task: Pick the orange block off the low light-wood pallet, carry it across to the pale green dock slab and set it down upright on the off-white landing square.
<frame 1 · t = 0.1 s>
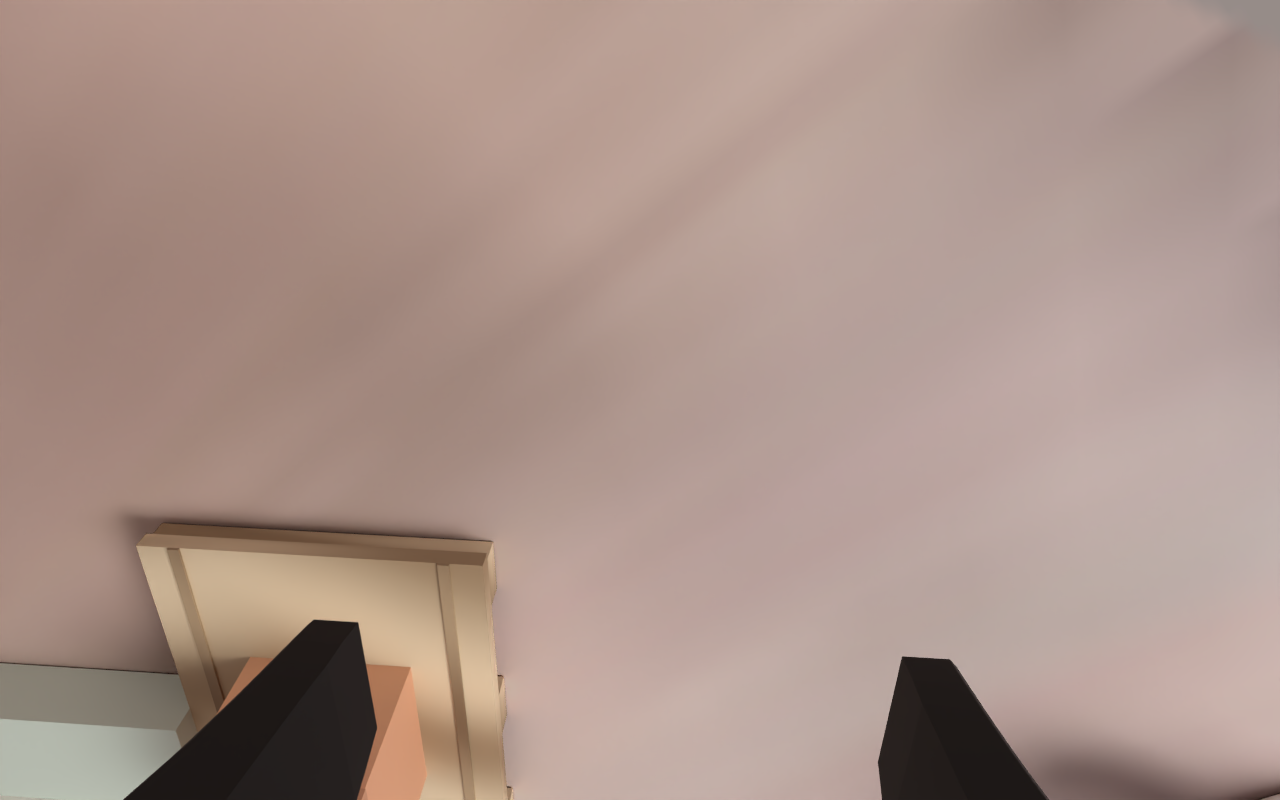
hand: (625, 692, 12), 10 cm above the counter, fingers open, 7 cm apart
pallet: (356, 686, 27), on the counter
orange block: (342, 718, 26), point 1 cm above the counter, touching pallet
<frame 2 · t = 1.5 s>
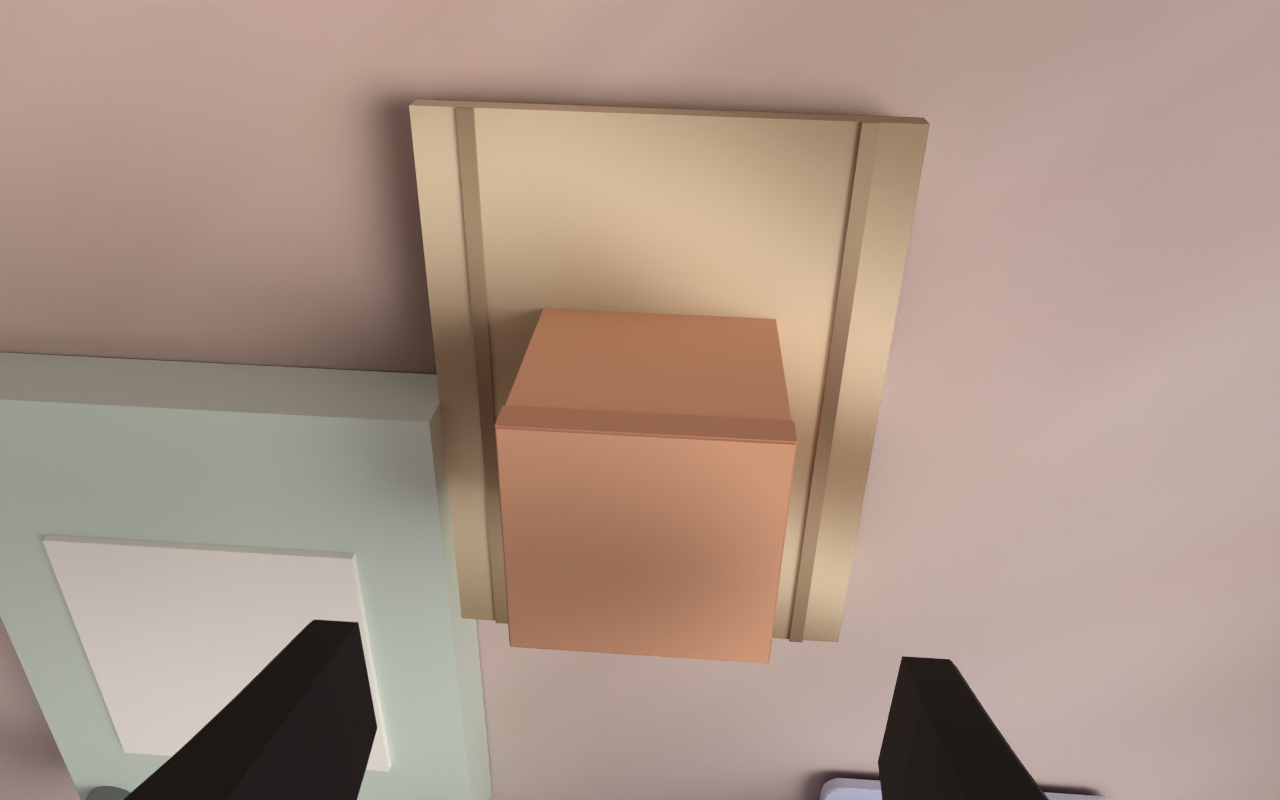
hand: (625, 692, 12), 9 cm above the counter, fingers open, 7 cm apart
dock: (267, 601, 24), on the counter
pallet: (658, 385, 20), on the counter
orange block: (655, 413, 19), point 1 cm above the counter, touching pallet
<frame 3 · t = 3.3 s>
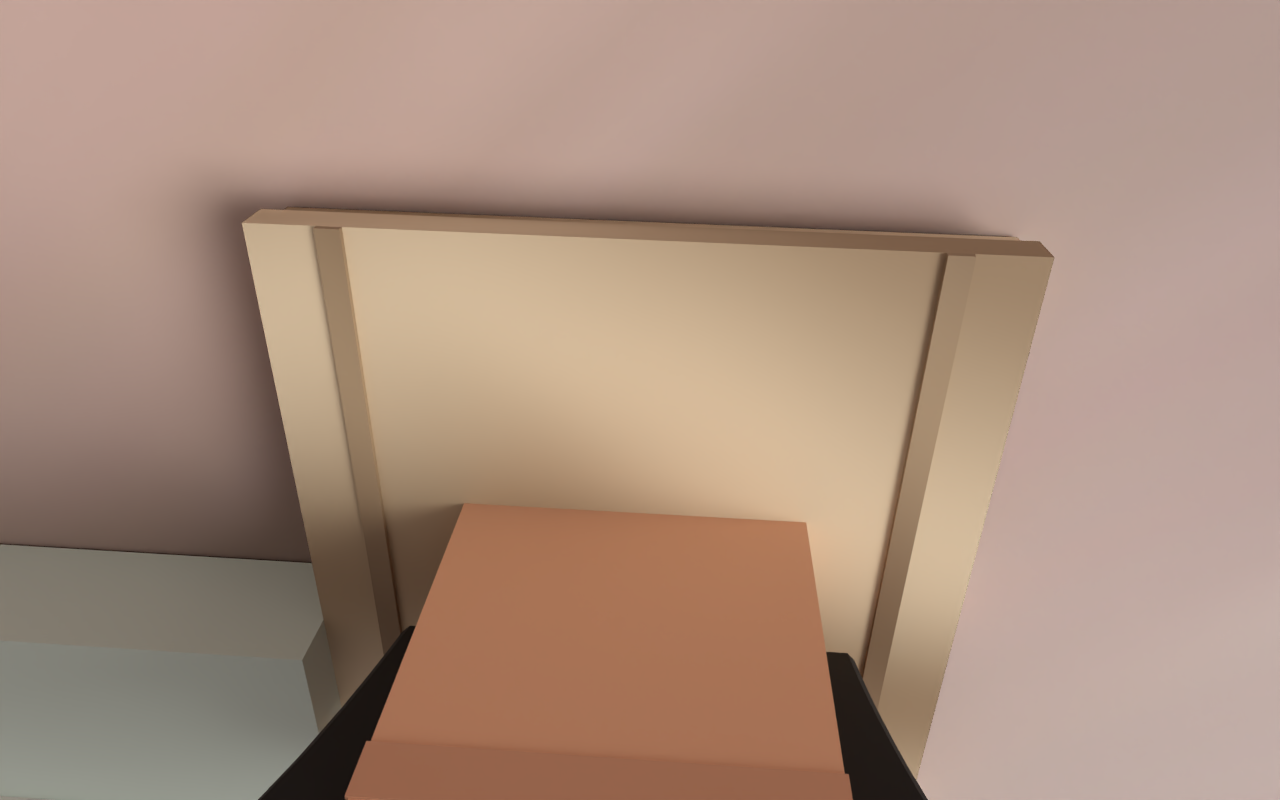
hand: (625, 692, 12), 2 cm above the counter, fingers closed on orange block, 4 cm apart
pallet: (636, 582, 14), on the counter
orange block: (630, 638, 13), point 1 cm above the counter, touching gripper, pallet
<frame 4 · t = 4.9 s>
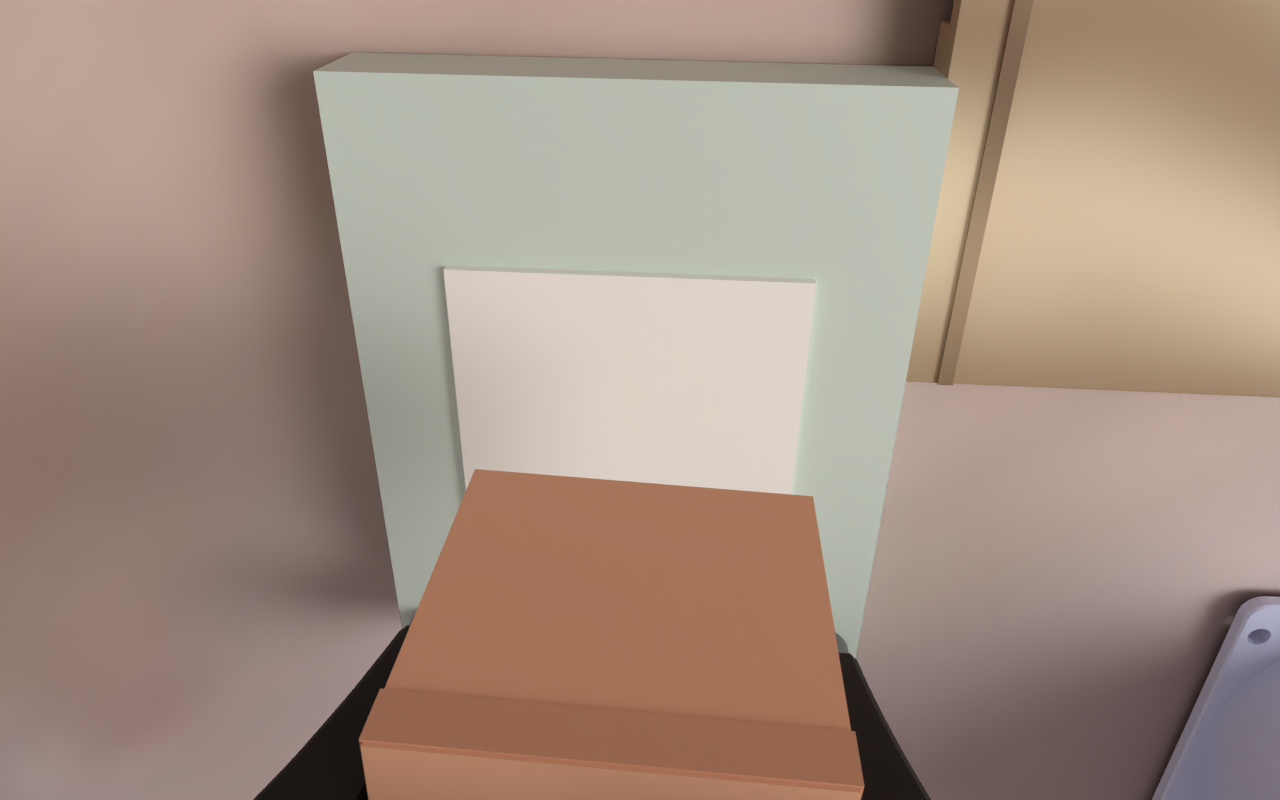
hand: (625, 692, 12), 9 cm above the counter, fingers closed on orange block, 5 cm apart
dock: (634, 383, 21), on the counter
pallet: (1182, 72, 17), on the counter
orange block: (635, 610, 13), point 8 cm above the counter, touching gripper
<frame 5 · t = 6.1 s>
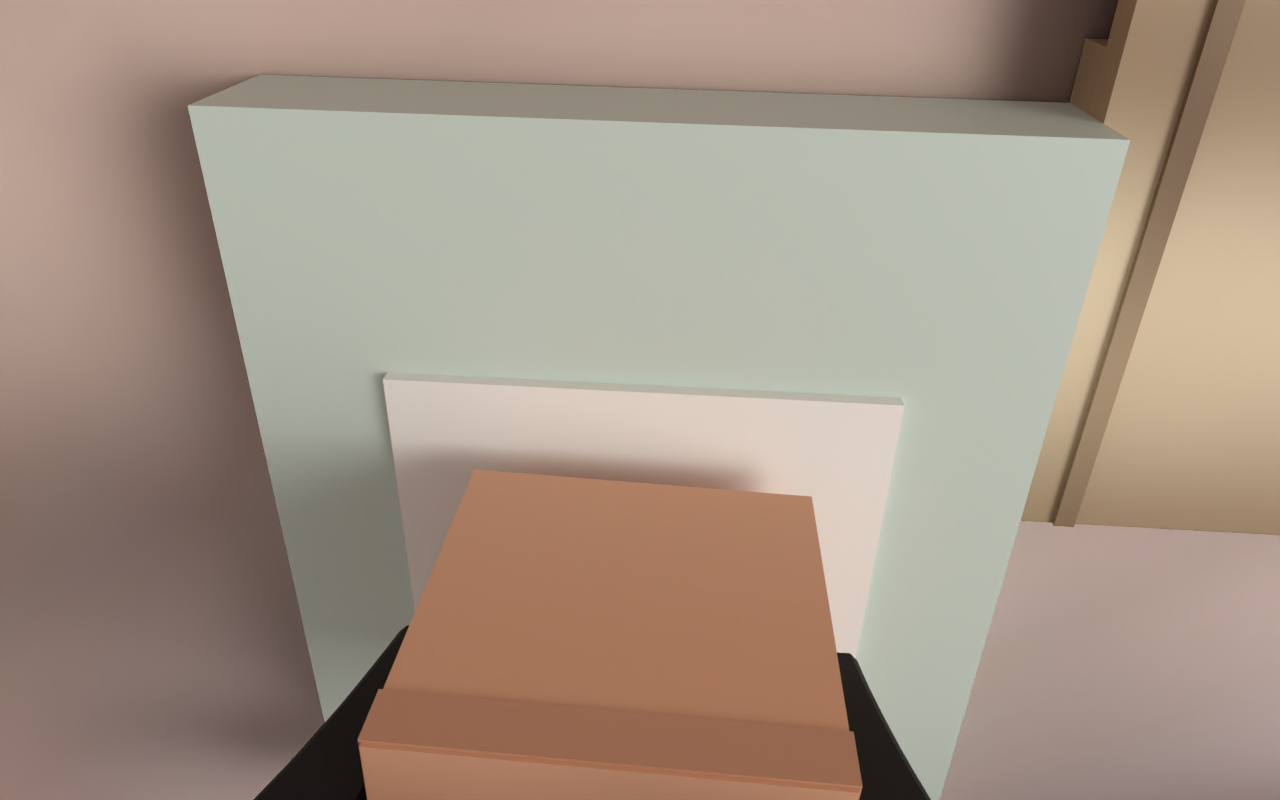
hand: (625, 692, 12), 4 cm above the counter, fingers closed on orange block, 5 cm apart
dock: (644, 505, 16), on the counter
orange block: (634, 610, 13), point 3 cm above the counter, touching gripper
when the fingers open (4 cm above the counter, at t = 6.8 s): orange block stays where it is, resting on dock.
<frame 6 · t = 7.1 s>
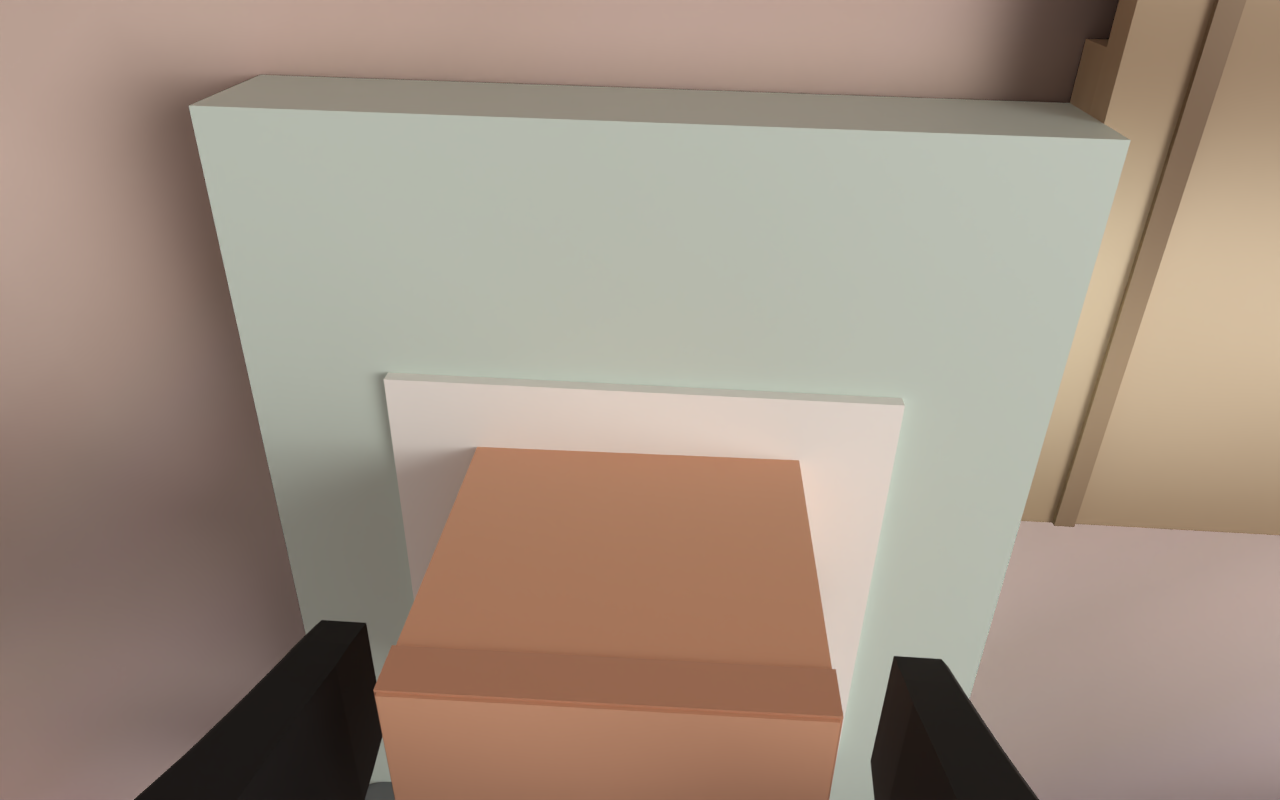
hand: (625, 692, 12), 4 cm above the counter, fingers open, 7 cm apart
dock: (644, 505, 16), on the counter
orange block: (635, 577, 14), point 2 cm above the counter, touching dock
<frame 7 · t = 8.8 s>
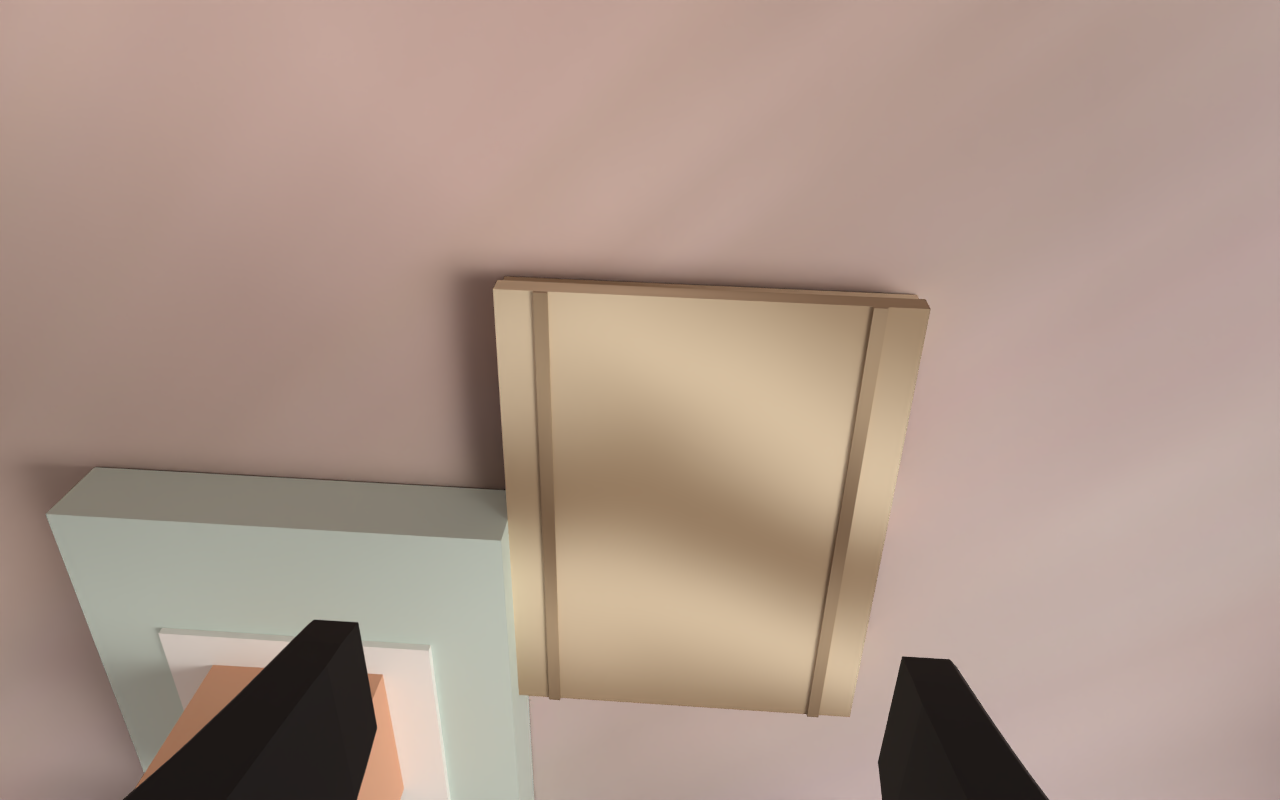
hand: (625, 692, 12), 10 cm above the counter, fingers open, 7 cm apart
dock: (342, 674, 27), on the counter
pallet: (694, 500, 23), on the counter
orange block: (312, 729, 25), point 2 cm above the counter, touching dock
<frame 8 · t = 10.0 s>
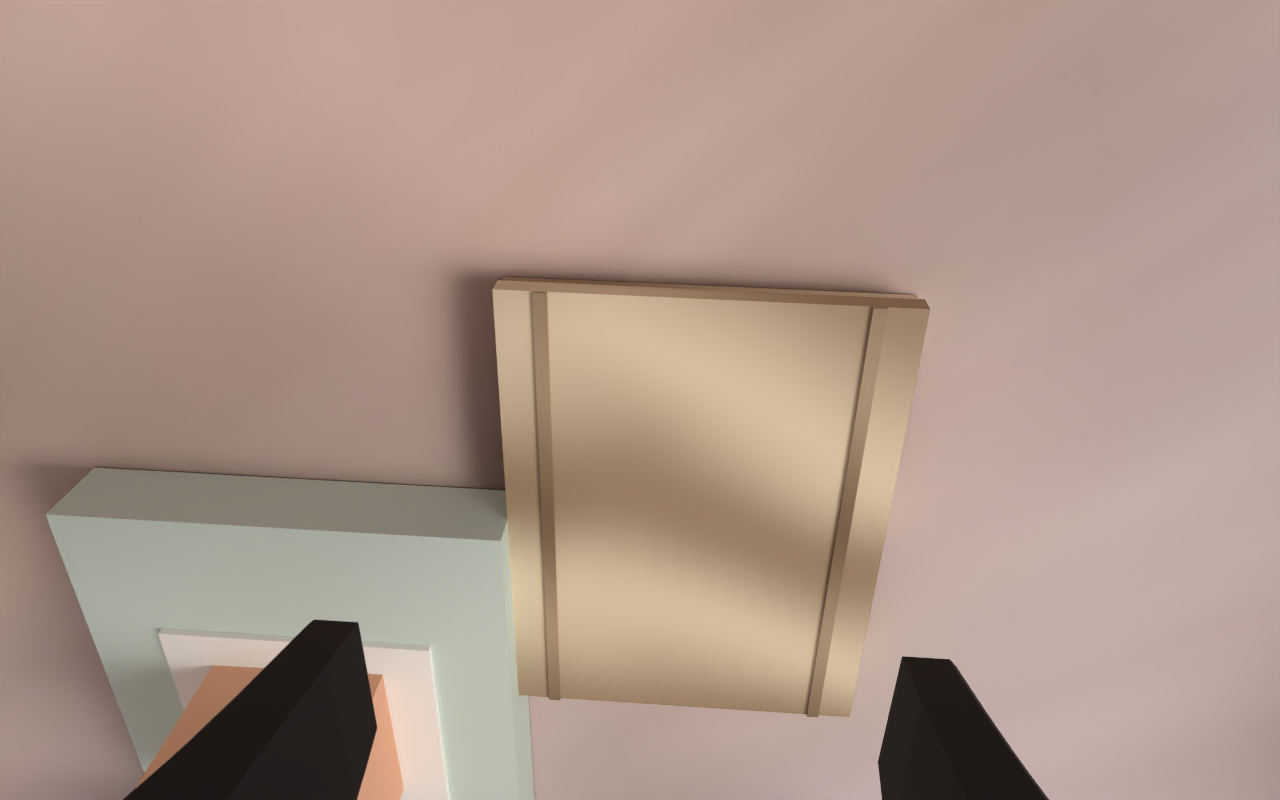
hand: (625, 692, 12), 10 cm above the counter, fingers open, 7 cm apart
dock: (342, 674, 27), on the counter
pallet: (694, 500, 23), on the counter
orange block: (312, 729, 25), point 2 cm above the counter, touching dock
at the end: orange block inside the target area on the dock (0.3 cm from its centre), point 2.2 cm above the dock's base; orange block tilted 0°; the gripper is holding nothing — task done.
